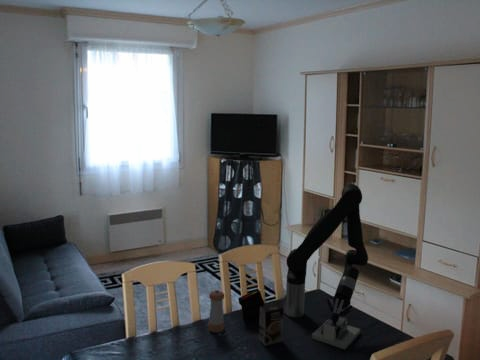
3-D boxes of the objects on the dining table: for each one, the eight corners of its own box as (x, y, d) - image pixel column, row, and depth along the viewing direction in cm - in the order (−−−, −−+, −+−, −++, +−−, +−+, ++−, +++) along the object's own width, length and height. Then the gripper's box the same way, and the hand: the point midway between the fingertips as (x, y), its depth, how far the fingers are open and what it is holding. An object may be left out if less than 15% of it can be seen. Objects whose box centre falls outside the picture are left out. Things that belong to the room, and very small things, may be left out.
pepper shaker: (212, 333, 218) (213, 294, 215) (206, 327, 224) (206, 288, 221) (226, 330, 222) (227, 291, 218) (219, 323, 228) (220, 286, 224)
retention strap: (335, 317, 223) (323, 327, 213) (335, 314, 223) (324, 325, 213) (346, 320, 220) (335, 331, 210) (346, 318, 220) (335, 328, 210)
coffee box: (265, 346, 209) (266, 312, 206) (258, 339, 214) (259, 306, 211) (282, 341, 213) (284, 308, 210) (275, 335, 218) (276, 302, 215)
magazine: (272, 317, 232) (259, 291, 229) (247, 328, 232) (234, 303, 229) (270, 313, 236) (258, 288, 233) (246, 325, 236) (234, 299, 232)
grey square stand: (311, 338, 216) (312, 320, 215) (328, 323, 231) (329, 306, 229) (344, 349, 207) (346, 331, 206) (360, 333, 222) (361, 316, 220)
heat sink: (320, 333, 217) (321, 325, 216) (328, 326, 223) (328, 318, 222) (341, 340, 211) (341, 332, 210) (348, 333, 217) (348, 325, 217)
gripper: (330, 281, 223) (318, 315, 215) (357, 287, 216) (345, 323, 208) (334, 288, 228) (322, 321, 221) (361, 295, 221) (349, 329, 213)
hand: (333, 322), depth 214 cm, fingers closed
